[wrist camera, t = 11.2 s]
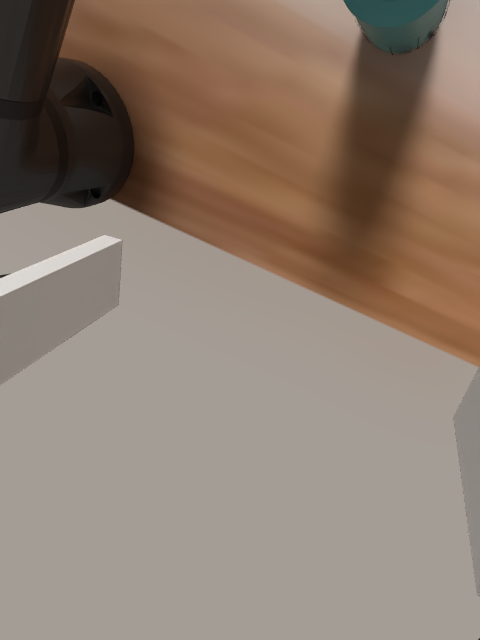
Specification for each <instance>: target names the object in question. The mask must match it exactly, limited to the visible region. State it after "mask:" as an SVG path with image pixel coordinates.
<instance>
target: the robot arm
mask: <svg viewBox="0 0 480 640" xmlns="http://www.w3.org/2000/svg"><path fill="white" fill-rule="evenodd" d="M74 2H75V0H0V213H3V212H6V211H10V210H13V209H17V208H21V207H24V206H28V205H31V204H34V203H38V202H40V203H46V204H52V205H57V206H62V207H68V208H84V207H88V206H92V205H95V204H98V203H102V202H104V201H106V200H108V199H110V198H111V197H112V196H114V195H115V194H116V193H117V192H118V191H119V190H120V188H121V187H122V186H123V184H124V183H125V181H126V179H127V177H128V174H129V172H130V168H131V165H132V159H133V148H134V144H133V133H132V127H131V123H130V119H129V116H128V113H127V110H126V108H125V105H124V103H123V101H122V99H121V98H120V96H119V94H118V93H117V91H116V90H115V88H114V87H113V86H112V84H111V83H110V82H109V81H108V80H107V79H106V78H105V77H104V76H103V75H102V74H101V73H100V72H98V71H97V70H96V69H94V68H93V67H91V66H89V65H88V64H85V63H83V62H81V61H78V60H74V59H67V58H60V57H58V56H59V52H60V49H61V46H62V42H63V39H64V36H65V32H66V29H67V26H68V22H69V19H70V15H71V12H72V9H73V5H74ZM121 254H122V240H121V239H117V238H114V237H111V236H107V235H103V236H100V237H98V238H95V239H93V240H91V241H89V242H86V243H84V244H81V245H79V246H76V247H74V248H72V249H69V250H67V251H64V252H62V253H60V254H57V255H55V256H52V257H50V258H48V259H45V260H43V261H41V262H38V263H36V264H33V265H31V266H29V267H26V268H24V269H21V270H19V271H17V272H14V273H11V274H6V275H0V385H1V384H3V383H4V382H6V381H7V380H9V379H10V378H11V377H13V376H14V375H16V374H17V373H19V372H20V371H22V370H23V369H25V368H26V367H28V366H29V365H31V364H32V363H34V362H35V361H37V360H38V359H40V358H41V357H42V356H44V355H45V354H47V353H48V352H50V351H51V350H53V349H54V348H56V347H57V346H59V345H60V344H61V343H63V342H65V341H66V340H68V339H69V338H70V337H72V336H73V335H75V334H76V333H78V332H79V331H81V330H82V329H84V328H85V327H87V326H88V325H90V324H91V323H93V322H94V321H95V320H97V319H98V318H100V317H101V316H103V315H104V314H106V313H107V312H109V311H110V310H112V309H113V308H115V307H116V306H118V305H119V290H120V272H121ZM453 420H454V427H455V435H456V441H457V449H458V456H459V464H460V472H461V478H462V486H463V494H464V501H465V509H466V516H467V523H468V531H469V538H470V546H471V553H472V560H473V568H474V575H475V583H476V590H477V596H480V367H479V368H478V371H477V373H476V374H475V376H474V378H473V380H472V382H471V384H470V386H469V388H468V390H467V392H466V394H465V396H464V397H463V399H462V402H461V403H460V405H459V407H458V409H457V411H456V413H455V415H454V417H453ZM479 640H480V638H479Z"/></svg>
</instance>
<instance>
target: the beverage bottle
mask: <svg viewBox="0 0 480 640" xmlns="http://www.w3.org/2000/svg"><path fill="white" fill-rule="evenodd" d="M344 2H345V4H346V6H347V7H348V9H349V10H350V11H351V13H352V14H353V15H354V16H355V17H356V18H357V21H358V24H360V25H359V27H360V26H361V27H362V29H363V30H364V32H365V33H366V35H367V37H368V38H369V39H370V41H371V42H372V43H373V44H374V45H375V46H377V47H378V48H380V49H381V50H384V51H387V52H391V53H396V54H397V53H403V52H404V53H405V52H406V51H407V52H409V53H410V52H411V51H409V50H412V49H413V50H414V48H416V47H417V49H418V46H420V45H421V44H423V43H424V42H425V41H426V40H428V41H429V39H430V38H431V37H432V36H434V35H435V34H434V35H433V33H434V32H435V31H436V30H437V29H438V27H439V24H440V23H441V20H442V18H443V15H444V14H445V9H446V8H447V7H446V6H448V7H449V5H447V3H448V0H344ZM449 3H450V2H449ZM447 10H448V8H447ZM446 13H447V12H446ZM445 16H446V14H445ZM444 18H445V17H444ZM443 21H444V20H443ZM355 22H356V21H355ZM442 23H443V22H442ZM359 29H360V30H361V28H359ZM436 33H437V32H436ZM365 37H366V36H365ZM367 40H368V39H367ZM426 42H427V41H426ZM421 47H422V46H421ZM413 50H412V51H413ZM407 52H406V53H407ZM404 53H403V54H404ZM392 55H393V54H392ZM400 55H402V54H400Z"/></svg>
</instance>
